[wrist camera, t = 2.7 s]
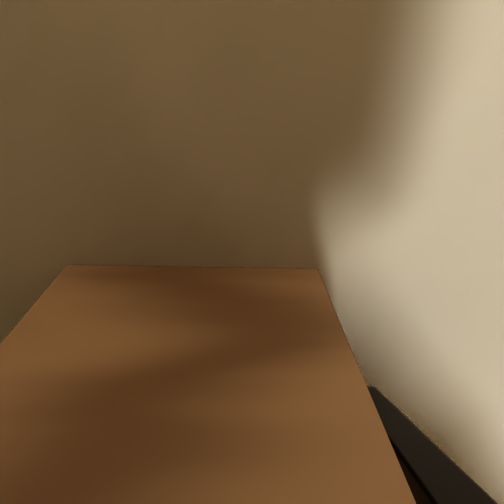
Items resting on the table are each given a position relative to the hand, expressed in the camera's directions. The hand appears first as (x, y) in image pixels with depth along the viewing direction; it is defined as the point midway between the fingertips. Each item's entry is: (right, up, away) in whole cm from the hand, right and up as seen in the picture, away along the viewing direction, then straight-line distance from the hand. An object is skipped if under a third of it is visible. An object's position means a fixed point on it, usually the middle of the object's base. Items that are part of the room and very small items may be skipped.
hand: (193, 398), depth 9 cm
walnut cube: (0, +1, +1) cm, 1 cm away
